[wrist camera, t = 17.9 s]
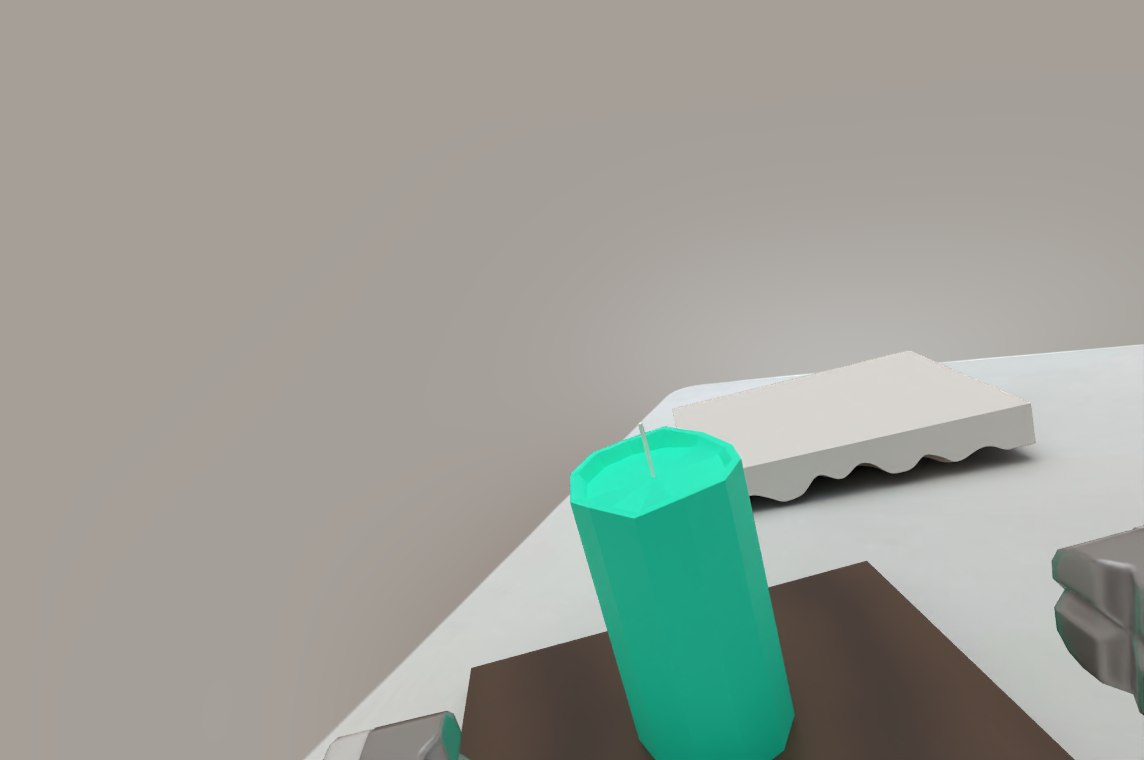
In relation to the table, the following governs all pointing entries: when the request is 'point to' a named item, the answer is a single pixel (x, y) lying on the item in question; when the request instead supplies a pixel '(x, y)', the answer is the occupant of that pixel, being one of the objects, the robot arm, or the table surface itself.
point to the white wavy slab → (859, 422)
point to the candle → (684, 595)
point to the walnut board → (815, 677)
